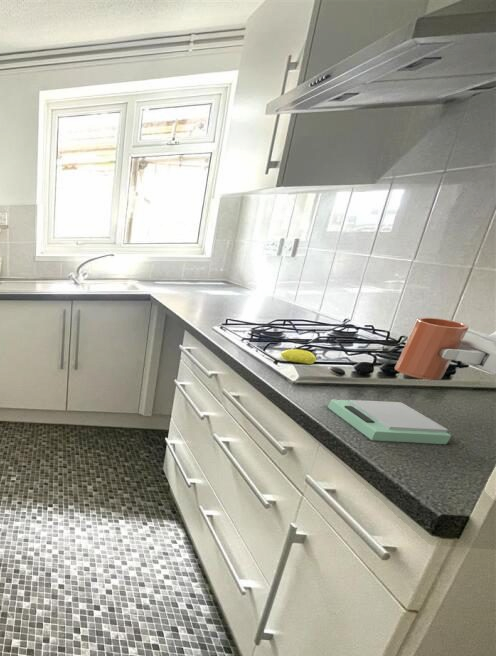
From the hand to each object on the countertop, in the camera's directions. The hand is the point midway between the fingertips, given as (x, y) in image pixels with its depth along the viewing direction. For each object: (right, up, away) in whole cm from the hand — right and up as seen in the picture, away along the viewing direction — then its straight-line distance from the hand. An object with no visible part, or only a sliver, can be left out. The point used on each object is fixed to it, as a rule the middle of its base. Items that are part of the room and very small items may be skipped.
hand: (425, 345), depth 78 cm
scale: (-2, -16, +6) cm, 17 cm away
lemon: (+3, -1, +37) cm, 37 cm away
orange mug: (+1, -5, +2) cm, 6 cm away
